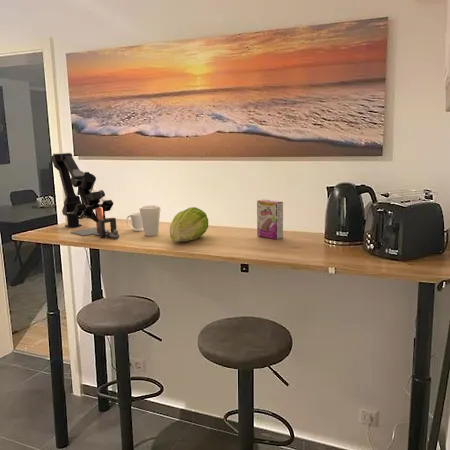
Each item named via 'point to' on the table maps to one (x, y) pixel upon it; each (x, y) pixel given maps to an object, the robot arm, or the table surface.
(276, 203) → the candy bar box
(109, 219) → the brown square arch
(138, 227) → the cup
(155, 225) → the foam cup
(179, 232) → the lettuce
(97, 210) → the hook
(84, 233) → the mat
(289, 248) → the table surface
